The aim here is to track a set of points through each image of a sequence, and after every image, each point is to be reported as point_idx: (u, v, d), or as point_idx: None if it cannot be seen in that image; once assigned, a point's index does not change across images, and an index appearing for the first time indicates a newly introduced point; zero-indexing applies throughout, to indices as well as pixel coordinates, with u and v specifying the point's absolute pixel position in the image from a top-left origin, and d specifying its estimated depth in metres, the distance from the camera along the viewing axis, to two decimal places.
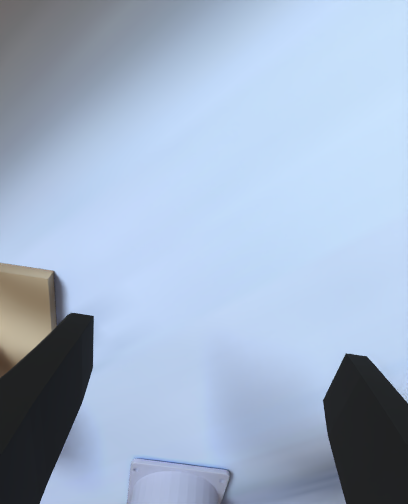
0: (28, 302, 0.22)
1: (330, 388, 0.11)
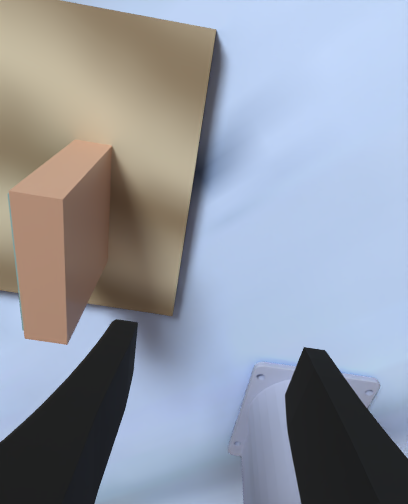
0: (177, 78, 0.15)
1: (290, 382, 0.11)
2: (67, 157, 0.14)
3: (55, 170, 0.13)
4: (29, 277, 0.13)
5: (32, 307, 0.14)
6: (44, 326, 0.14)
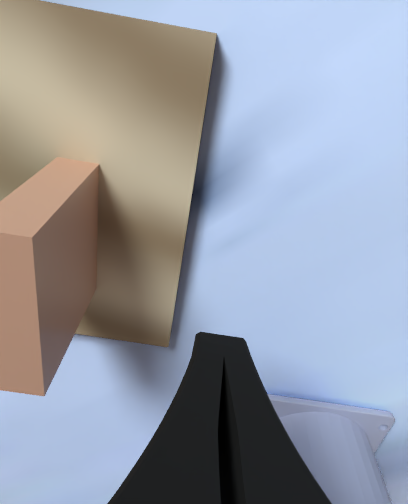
0: (172, 89, 0.13)
1: None
2: (45, 180, 0.13)
3: (28, 197, 0.11)
4: None
5: (2, 356, 0.12)
6: (17, 376, 0.12)
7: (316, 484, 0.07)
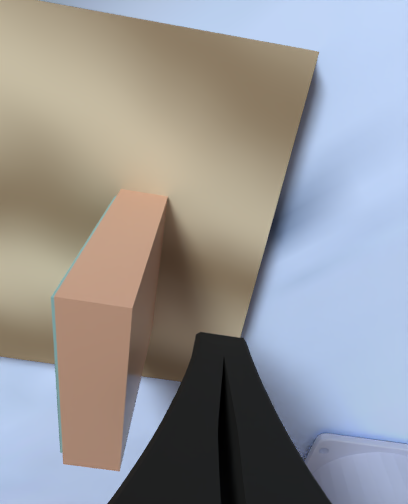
0: (260, 114, 0.12)
1: None
2: (119, 222, 0.11)
3: (109, 248, 0.10)
4: (75, 398, 0.09)
5: (76, 431, 0.10)
6: (91, 452, 0.10)
7: (316, 484, 0.07)
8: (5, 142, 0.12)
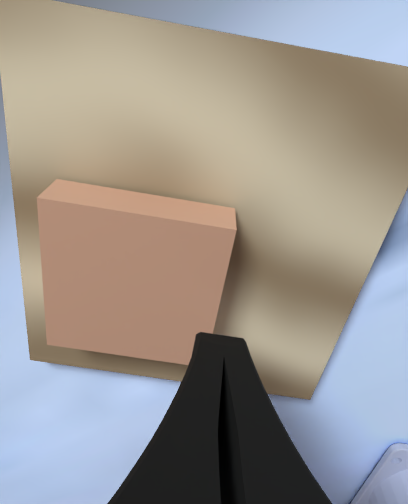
0: (390, 135, 0.12)
1: None
2: (163, 202, 0.12)
3: (117, 196, 0.12)
4: None
5: None
6: None
7: (316, 484, 0.07)
8: (129, 161, 0.12)
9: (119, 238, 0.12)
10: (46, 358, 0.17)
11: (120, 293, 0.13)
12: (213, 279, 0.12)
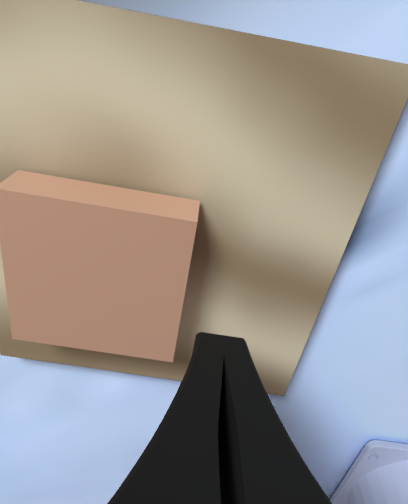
0: (353, 127, 0.12)
1: None
2: (125, 194, 0.12)
3: (78, 187, 0.12)
4: None
5: None
6: None
7: (316, 484, 0.07)
8: (91, 152, 0.12)
9: (79, 230, 0.12)
10: (17, 353, 0.17)
11: (83, 286, 0.13)
12: (176, 272, 0.12)
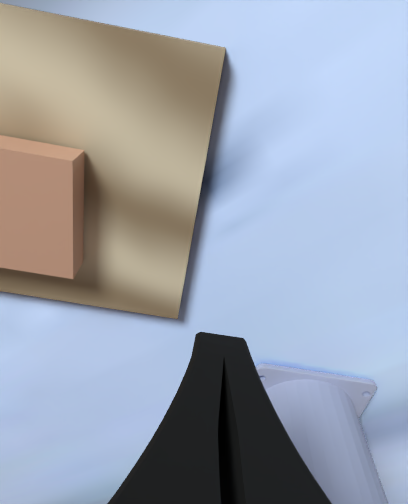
0: (187, 93, 0.16)
1: None
2: (25, 143, 0.17)
3: None
4: None
5: None
6: None
7: (316, 484, 0.07)
8: (0, 112, 0.17)
9: None
10: None
11: None
12: (63, 202, 0.17)
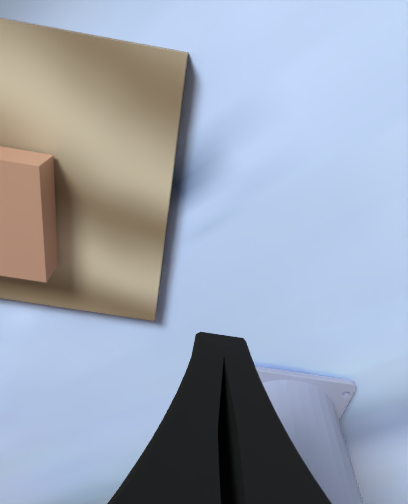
0: (152, 98, 0.16)
1: None
2: None
3: None
4: None
5: None
6: None
7: (316, 484, 0.07)
8: None
9: None
10: None
11: None
12: (32, 206, 0.17)
